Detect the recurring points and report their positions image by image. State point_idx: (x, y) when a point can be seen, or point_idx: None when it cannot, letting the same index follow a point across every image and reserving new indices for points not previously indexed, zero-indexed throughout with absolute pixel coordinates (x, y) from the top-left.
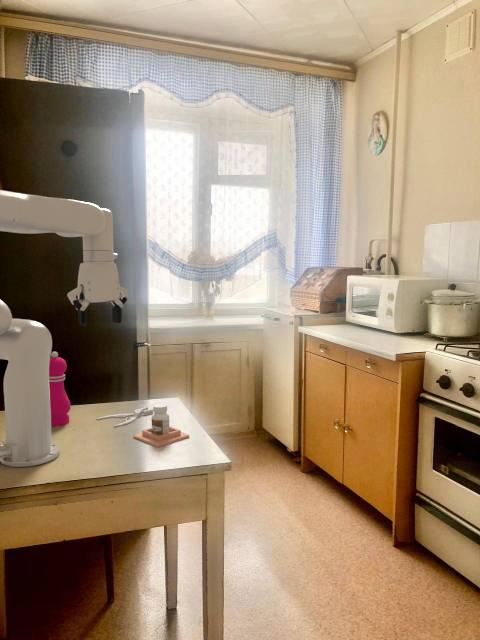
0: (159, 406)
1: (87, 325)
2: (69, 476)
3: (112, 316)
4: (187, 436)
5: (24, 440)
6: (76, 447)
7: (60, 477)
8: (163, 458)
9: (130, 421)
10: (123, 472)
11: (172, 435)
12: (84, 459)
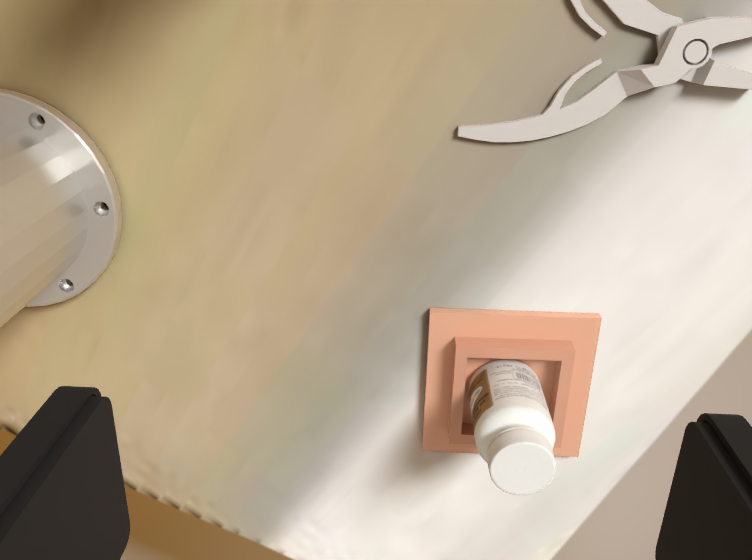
0: (510, 476)
1: (123, 535)
2: None
3: (729, 477)
4: (567, 454)
5: None
6: (197, 237)
7: None
8: (372, 519)
9: (557, 134)
10: (219, 513)
11: None
12: (170, 358)
